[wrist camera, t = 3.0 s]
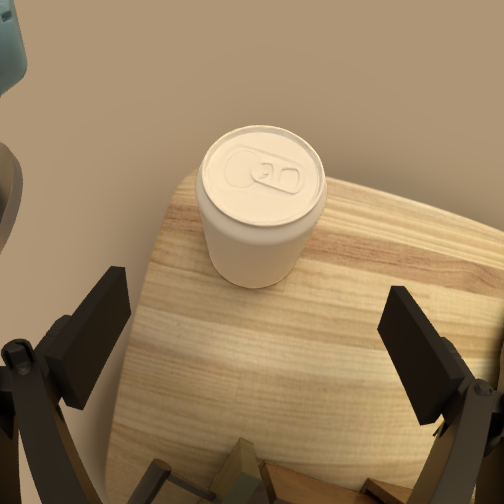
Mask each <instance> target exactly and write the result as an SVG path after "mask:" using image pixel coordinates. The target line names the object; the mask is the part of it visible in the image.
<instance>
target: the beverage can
mask: <svg viewBox="0 0 504 504" xmlns="http://www.w3.org/2000/svg"><path fill="white" fill-rule="evenodd" d="M196 197H197V202H198V207H199V211H200V216H201V221H202V225H203V230H204V234H205V239H206V243H207V247H208V252H209V256H210V259H211V261H212V263H213V265H214V267H215V268H216V270H217V271H218V272H219V273H220V274H221V275H222V276H223V277H224V278H225V279H226V280H228V281H230V282H231V283H233V284H236V285H238V286H241V287H246V288H263V287H268V286H271V285H273V284H275V283H277V282H279V281H281V280H282V279H283V278H285V277H286V276H287V275H288V274H289V272H290V271H291V270H292V268H293V267H294V265H295V263H296V261H297V260H298V258H299V256H300V254H301V252H302V250H303V249H304V247H305V245H306V243H307V241H308V239H309V237H310V235H311V234H312V232H313V230H314V228H315V226H316V224H317V222H318V220H319V218H320V216H321V214H322V212H323V210H324V207H325V204H326V198H327V184H326V179H325V175H324V169H323V166H322V163H321V160H320V158H319V156H318V155H317V153H316V152H315V151H314V149H313V148H312V147H311V146H310V145H309V144H308V143H307V142H306V141H304V140H303V139H302V138H300V137H299V136H297V135H296V134H294V133H291V132H290V131H287V130H285V129H281V128H278V127H273V126H265V125H254V126H247V127H242V128H238V129H236V130H233V131H231V132H229V133H227V134H225V135H224V136H222V137H221V138H219V139H218V140H217V141H216V142H215V143H214V144H213V145H212V146H211V147H210V149H209V150H208V152H207V153H206V155H205V158H204V160H203V162H202V163H201V165H200V168H199V170H198V173H197V178H196Z"/></svg>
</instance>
